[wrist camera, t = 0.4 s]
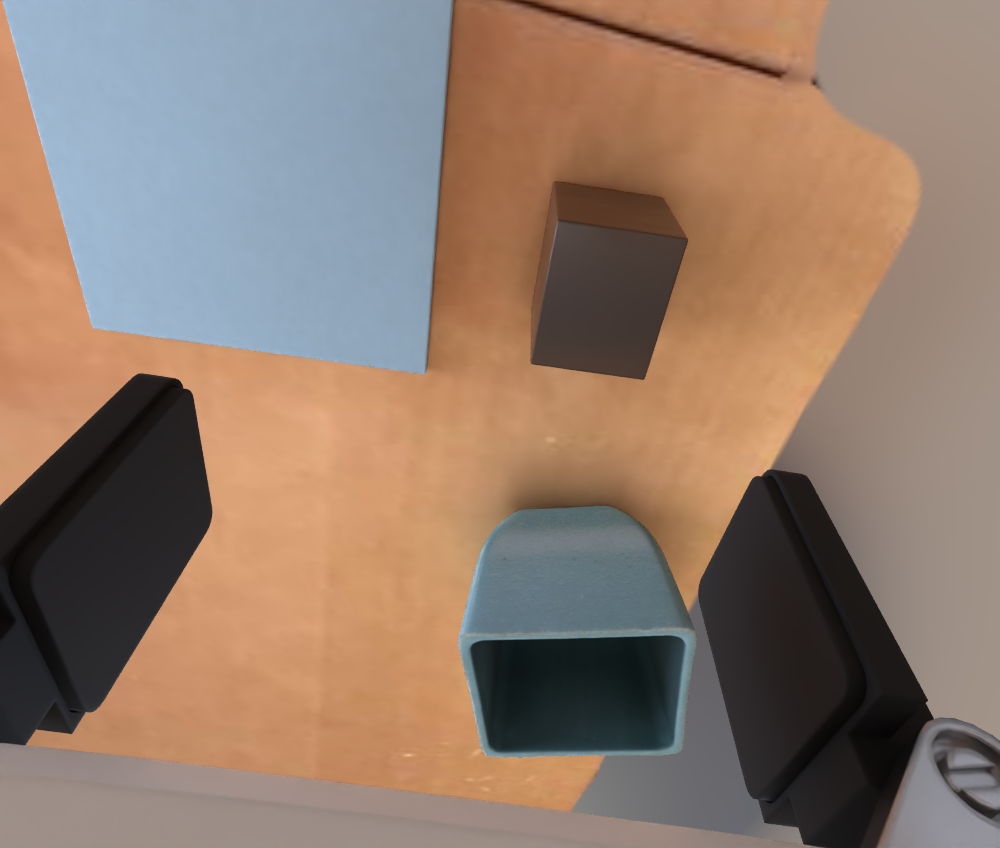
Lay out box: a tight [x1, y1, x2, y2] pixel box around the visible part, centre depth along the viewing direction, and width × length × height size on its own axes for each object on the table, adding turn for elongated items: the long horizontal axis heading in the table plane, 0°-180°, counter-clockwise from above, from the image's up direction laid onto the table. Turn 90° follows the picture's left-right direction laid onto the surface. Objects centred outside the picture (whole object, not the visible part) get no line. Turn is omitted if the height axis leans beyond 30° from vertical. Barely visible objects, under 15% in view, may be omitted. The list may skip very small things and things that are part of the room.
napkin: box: [2, 0, 454, 374], centre depth 22 cm, size 16×14×1 cm
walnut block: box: [531, 182, 688, 380], centre depth 22 cm, size 5×4×4 cm
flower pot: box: [458, 505, 697, 758], centre depth 29 cm, size 9×9×9 cm
